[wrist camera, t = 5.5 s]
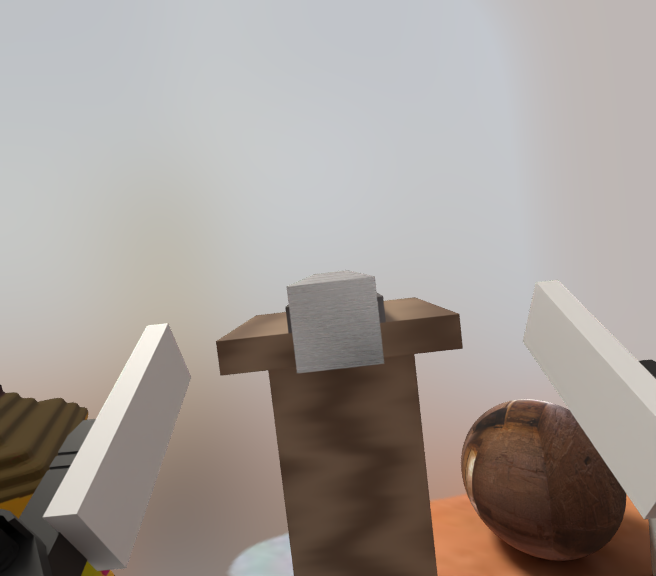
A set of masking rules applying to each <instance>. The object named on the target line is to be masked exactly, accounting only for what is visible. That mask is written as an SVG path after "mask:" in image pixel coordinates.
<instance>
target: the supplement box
mask: <svg viewBox="0 0 656 576" xmlns="http://www.w3.org/2000/svg"><path fill="white" fill-rule="evenodd" d="M649 533H650V548H651V563H652V573H653V575H654V576H656V518H653V519H649Z"/></svg>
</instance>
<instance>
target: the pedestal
mask: <svg viewBox="0 0 656 576" xmlns="http://www.w3.org/2000/svg"><path fill="white" fill-rule="evenodd" d="M376 293H377V292H376ZM377 302H378V311H379V320H380V329H381V339H382V348H383V357H384V364H378V365H369V366H360V367H351V368H342V369H333V370H324V371H315V372H306V373H297V368H296V360H295V351H294V343H293V335H292V327H291V318H290V310H289V305H287V306H286V312H282V313H274V314H265V315H256V316H255V317H253V318H252V319H250V320H248V321H247V322H245V323H244V324H243V325H241V326H239V327H238V328H236V329H235V330H233V331H231V332H230V333H229V334H227V335H225V336H224V337H222V338H221V339H219V340H217V341H216V345H217V352H218V359H219V367H220V375H230V374H238V373H248V372H256V371H266V370H268V371H269V379H270V387H271V395H272V403H273V410H274V419H275V427H276V435H277V443H278V450H279V459H280V467H281V475H282V483H283V490H284V499H285V507H286V514H287V523H288V531H289V539H290V547H291V555H292V563H293V571H294V576H437V567H436V557H435V547H434V538H433V528H432V519H431V509H430V500H429V490H428V481H427V471H426V462H425V452H424V442H423V433H422V425H421V424H422V423H421V414H420V404H419V395H418V385H417V376H416V366H415V356H414V354H418V353H427V352H436V351H445V350H453V349H462V337H461V327H460V318H459V317H460V316H459V314H458V313H455V312H453V311H450V310H447V309H445V308H442V307H439V306H436V305H434V304H431V303H428V302H426V301H423V300H420V299H418V298H405V299H397V300H389V301H383V296H382V295H380V294H378V293H377Z"/></svg>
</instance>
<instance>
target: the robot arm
mask: <svg viewBox="0 0 656 576" xmlns="http://www.w3.org/2000/svg"><path fill="white" fill-rule="evenodd" d="M523 342H524V344H525V345H526V347H527V348H528V350H529V351H530V353H531V354H532V356H533V357H534V359H535V360H536V362H537V363H538V364H539V366H540V367H541V369H542V370H543V372H544V373H545V375H546V376H547V377H548V379H549V381H550V382H551V384H552V385H553V386H554V388H555V389H556V391H557V392H558V394H559V395H560V397H561V398H562V400H563V401H564V403H565V404H566V406H567V407H568V408H569V410H570V411H571V413H572V414H573V416H574V417H575V419H576V420H577V422H578V423H579V425H580V426H581V428H582V429H583V430H584V432H585V433H586V435H587V436H588V438H589V439H590V441H591V442H592V444H593V445H594V447H595V448H596V450H597V451H598V453H599V454H600V455H601V457H602V458H603V460H604V461H605V463H606V464H607V466H608V467H609V469H610V470H611V472H612V473H613V475H614V476H615V477H616V479H617V480H618V482H619V483H620V485H621V486H622V488H623V489H624V491H625V492H626V494H627V495H628V497H629V498H630V499H631V501H632V502H633V504H634V505H635V507H636V508H637V510H638V511H639V513H640V514H641V516H642V517H643V519H653V518H656V362H655V361H653V360H642V361H638V360H637V359H636V358H635V357H634V356H633V355H632V354H631V353H630V352H629V351H628V350H627V349H626V348H625V347H624V346H623V345H622V344H621V343H620V342H619V341H618V340H617V339H616V338H615V337H614V336H613V335H612V334H611V333H610V332H609V331H608V330H607V329H606V328H605V327H604V326H603V325H602V324H601V323H600V322H599V321H598V320H597V319H596V318H595V317H594V316H593V315H592V314H591V313H590V312H589V311H588V310H587V309H586V308H585V307H584V306H583V305H582V304H581V303H580V302H579V301H578V300H577V299H576V298H575V297H574V296H573V295H572V294H571V293H570V292H569V291H568V290H567V289H566V288H565V286H563V285H562V283H560V281H559V280H552V281H544V282H536V284H535V289H534V293H533V298H532V302H531V307H530V311H529V316H528V320H527V325H526V330H525V334H524V338H523ZM190 379H191V375H190V373H189V371H188V368H187V366H186V364H185V362H184V359H183V357H182V354H181V352H180V350H179V347H178V345H177V343H176V341H175V338H174V336H173V334H172V331H171V329H170V327H169V324H168V323H166V324H157V325H148V326H147V327H146V329H145V331H144V332H143V335H142V336H141V338H140V340H139V342H138V343H137V345H136V347H135V349H134V351H133V352H132V355H131V356H130V358H129V360H128V362H127V364H126V365H125V367H124V369H123V371H122V373H121V374H120V376H119V378H118V380H117V382H116V384H115V386H114V387H113V389H112V391H111V393H110V395H109V396H108V398H107V400H106V402H105V404H104V406H103V408H102V409H101V411H100V413H99V415H98V417H97V419H90V420H83V421H82V422H81V423H80V424H79V425H78V426H77V427H76V428H75V429H74V430H73V431H72V432H71V433H70V434H69V435H68V436H67V438H66V440H65V441H64V443H63V445H62V446H61V448H60V450H59V451H58V456H55V458H54V460H53V462H52V463H51V465H50V467H49V468H50V469H49V471H47V472H46V473H45V475H44V477H43V478H42V480H41V482H40V483H39V485H38V487H37V488H36V490H35V492H34V494H33V495H32V497H31V499H30V500H29V502H28V504H27V505H26V507H25V509H24V510H23V512H22V514H21V515H20V517H19V519H18V518H17V517H16V516H15V515H14V514H13V513H12V512H11V511H8V510H4V509H0V576H81V575H82V572H83V570H84V567H85V565H86V563H87V561H88V562H89V563H90V564H91V565H92V566H93V567H94V568H95V569H96V570H97V571H102V570H111V569H123V568H127V565H128V562H129V559H130V556H131V553H132V550H133V547H134V544H135V541H136V538H137V535H138V532H139V529H140V526H141V523H142V520H143V517H144V514H145V512H146V509H147V506H148V503H149V500H150V497H151V494H152V491H153V488H154V485H155V482H156V479H157V476H158V473H159V470H160V467H161V464H162V461H163V458H164V455H165V453H166V450H167V447H168V444H169V441H170V438H171V435H172V432H173V429H174V426H175V423H176V420H177V417H178V414H179V411H180V408H181V405H182V403H183V399H184V397H185V394H186V391H187V388H188V385H189V382H190Z"/></svg>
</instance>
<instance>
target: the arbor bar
mask: <svg viewBox="0 0 656 576" xmlns="http://www.w3.org/2000/svg"><path fill="white" fill-rule="evenodd" d="M287 293H288V301H289V310H290V318H291V327H292V335H293V343H294V351H295V360H296V368H297V373H306V372H315V371H324V370H333V369H342V368H351V367H360V366H369V365H378V364H384V357H383V348H382V339H381V329H380V320H379V311H378V302H377V293H376V284H375V277H374V276H370V275H366V274H361V273H357V272H352V271H339V272H331V273H322V274H314V275H312V276H310V277H307V278H305V279H303V280H301V281H298V282H296V283H294V284H292V285H289V286H287Z"/></svg>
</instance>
